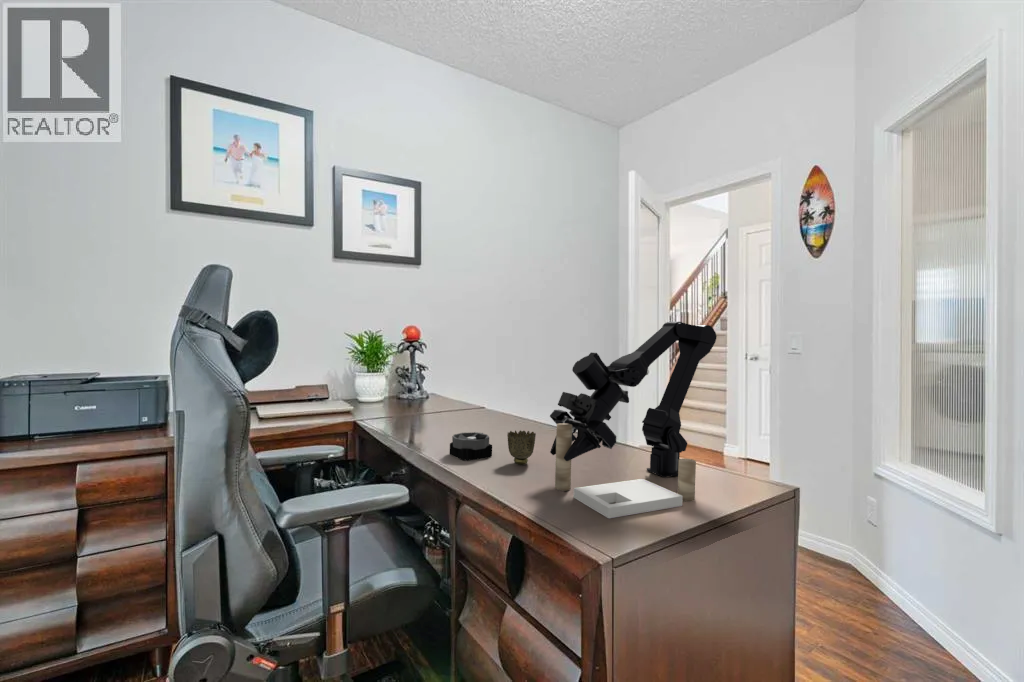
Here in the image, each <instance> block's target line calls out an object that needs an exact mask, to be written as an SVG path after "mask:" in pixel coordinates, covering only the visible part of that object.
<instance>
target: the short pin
mask: <svg viewBox="0 0 1024 682" xmlns="http://www.w3.org/2000/svg"><path fill="white" fill-rule="evenodd" d="M696 467H697V461H696V460H694V459H692V458H679V465H678V476H677V494H679V495H682V496H683V498H682V502H694V501H695V500H696V498H695V497H696V473H697V472H696V469H697V468H696Z"/></svg>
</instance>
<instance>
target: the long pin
mask: <svg viewBox="0 0 1024 682" xmlns="http://www.w3.org/2000/svg"><path fill="white" fill-rule="evenodd" d="M555 437H556V454H555V468H554V469H555V473H554V476H555V477H554V488H555V490H557V491H563V492H567V491H570V490H571V488H572V487H571V486H572V485H571V484H572V483H571V482H572V481H571V480H572V479H571V478H572V459H571V460H569V461H565V459H564V456H565V454H566V452H567V451H568V449H569V448H570V446H571V445H572V444H573V442H572V424H567V423H559V424H556V433H555Z"/></svg>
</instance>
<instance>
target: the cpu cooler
mask: <svg viewBox="0 0 1024 682" xmlns="http://www.w3.org/2000/svg"><path fill="white" fill-rule="evenodd" d="M451 438H452V439H451V440H452V442H450V443H449V455H450V456H452V457H454V458H457V459H458V460H461V461H467V462H469V461H474V460H480V459H489V458H492V456H493V444H490V436H489V435H488V434H486V433H484V432H476V431H474V432H460V433H455V434H453V435H452V437H451Z"/></svg>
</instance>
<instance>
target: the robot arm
mask: <svg viewBox="0 0 1024 682" xmlns="http://www.w3.org/2000/svg"><path fill="white" fill-rule="evenodd" d="M717 336H718V335H717V332H716V331H715V329H714V327H713V326H712V325H708V324H695V325H694V324H689V323H684V322H682V321H667V322H665V323H664V324H662V326H661V328H660V329H659V330H657V331H656V332H655V333H654V334H653V335H651V337H649V338H648V339H647V340H646V341H644V343H642V344H641V345H639V347H637V348H636V349H635V350H634V351H632V352H631V353H628V354H625V355H623V356H620V357H618V358H617V359H615V360H614V361H612V362H611V363H610V364H609V365H606V364H605V363H604V362H603V360H602V359H601V356H600V355H599V354H598V353H597V352H590V353H589V354H588V355H586V356H584V357H582V358H580V359H579V360H577V361H576V362H575V363H574V365H572V369H571V371H572V372H573V373H574V375H575V376H576V377H577V378H578V380H579V381H580V382H581V384H583V386H584V387H585V388H586V389H587V390H590V391H593V390H594V391H593V392H592V394H590V395H588V394H586V393H583V392H581V393H579V395H577V394H573V393H570V392H567V391H566V392H565V391H562V393H561V395H560V397H559V399H558V403H557V406H559V407H562V408H565V409H566V410H569V412H568V411H565V410H562V409H554V410H553V411H552V412H551V414H550V415H549V417H550V419H551V420H552V421H553V422H554V423H555V424H556V425H557V424H559V423H567V424H572V445H571V446H570V448H569V449H568V451H567V452H566V454H565V456H564V459H565V461H569V460H571V461H572V460H573V459H575V458H577V457H580V456H582V455H584V454H585V453H588V452H590V451H591V452H592V450H593V451H594V450H596V449H600V448H601V445H602V446H603V448H608V449H610V450H612V449H613V447H615V445H616V443H617V435H616V434H615V433H614V431H612V429H611V428H610V427H609V426H608V424H607V423H606V422H605V420H606V421H610V419H612V416H611V415H610V413H611V412H612V411H613V410H614V408H615V407H616V406H617V404H619V402H620V403H626V404H629V403H630V398H629V391H628V390H624V389H623V388H622V387H621V386H624V387H631V388H634V387H637V386H638V385H640V383H642V381H643V380H644V378H645V377H646V375H648V369H649V367H650V366H651V364H653V363H654V362H655V361H656V360H657V359H658V358H660V357H661V356H662V354H664V353H665V352H666V351H667V350H668V349H670V347H672V346H673V345H674V344H675V343H676V342H677V341H678V343H677V345H678V350H679V356H678V358H677V361H676V363H675V365H674V368H673V371H672V372H671V375H670V378H669V380H668V383H667V385H666V388H665V390H664V393H663V394H662V398H661V400H660V402H659V404H658V405H657V406H656V407H655V408H652V407H649V408H648V409H647V410H646V414H645V416H644V418H643V420H642V422H641V423H642V428H641V431H642V433H643V436H644V439H645V443H646V445H647V446H651V453H650V457H649V467H647V468H646V471H647V472H650V473H651V474H652V473H653V474H655V475H658V476H660V477H662V478H669V477H678V465H679V459H680V453H681V454H682V452H686V450H687V446H688V441H687V440H686V439H685V437H684V436H683V435H682V434H681V431H680V430H681V428H682V422H681V415H680V411H681V408H682V406H683V403H684V401H685V398H686V396H687V394H688V391H689V388H690V386H691V383H692V381H693V379H694V376H695V373H696V370H697V368H698V366H699V363H700V361H701V360H702V359H704V358H705V357H706V356H707V355H708V354H709V353H710V352H711V350H712V349H713V347H714V345H715V343H716V341H717ZM576 432H577V434H576V436H575V433H576ZM600 444H601V445H600ZM549 453H550V454H551V455H552V456H556V436H555V438H554V440H553V444H552V446H551V448H550V451H549Z"/></svg>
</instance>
